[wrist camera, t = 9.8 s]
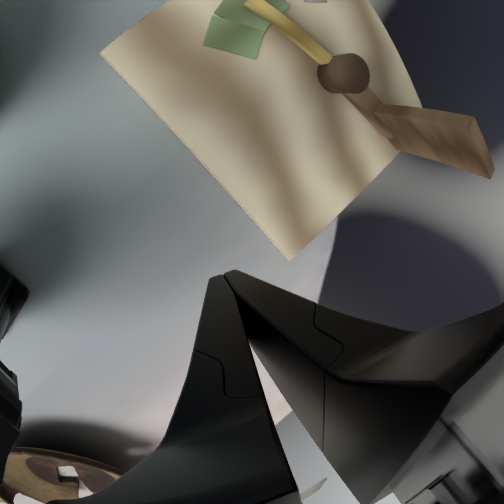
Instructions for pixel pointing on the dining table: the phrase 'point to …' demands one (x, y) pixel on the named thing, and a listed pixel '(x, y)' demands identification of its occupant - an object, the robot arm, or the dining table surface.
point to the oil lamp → (51, 475)
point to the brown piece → (386, 115)
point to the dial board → (267, 103)
